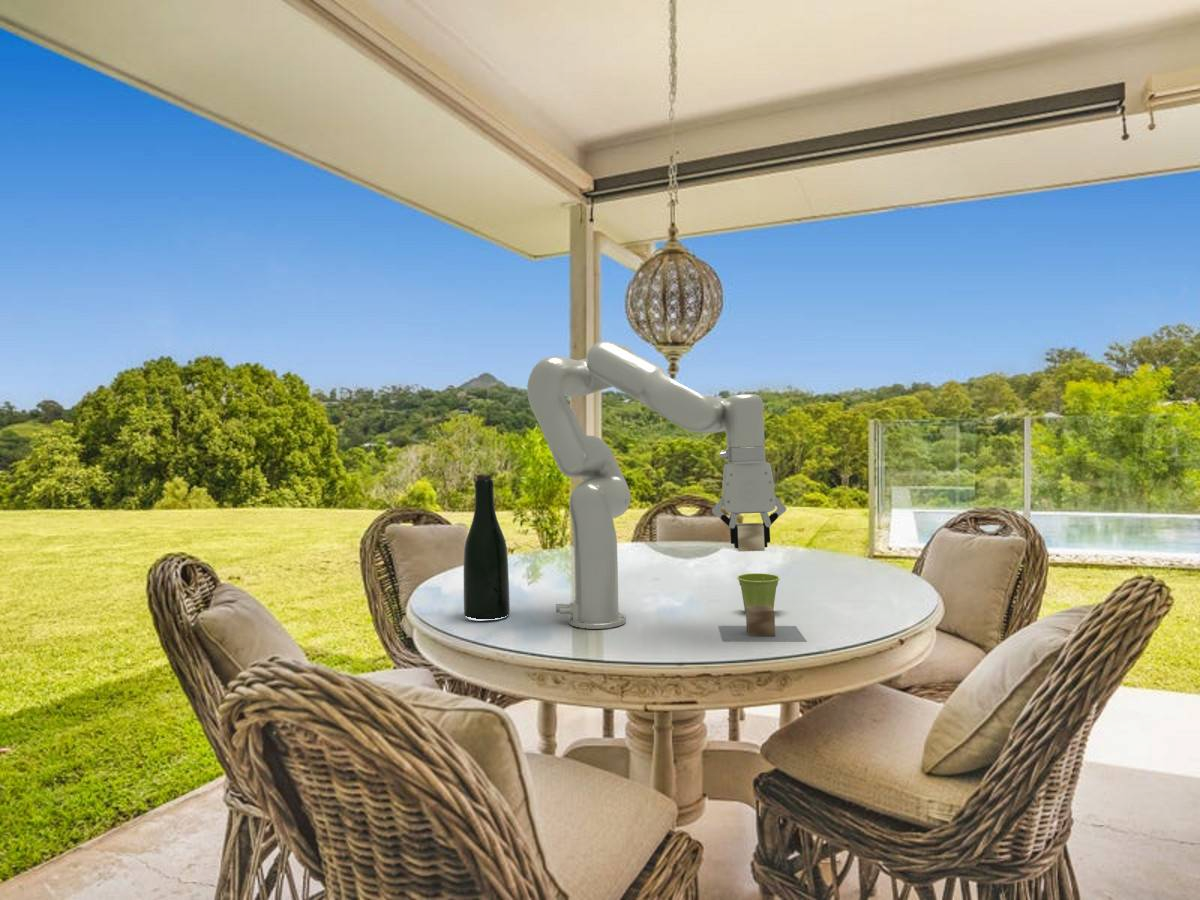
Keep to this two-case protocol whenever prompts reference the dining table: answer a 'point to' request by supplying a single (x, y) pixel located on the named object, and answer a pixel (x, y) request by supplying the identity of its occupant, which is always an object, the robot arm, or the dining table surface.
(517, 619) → the dining table surface
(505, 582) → the dark wine bottle
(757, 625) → the walnut block
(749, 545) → the maple block
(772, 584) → the plant pot
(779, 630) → the mat
